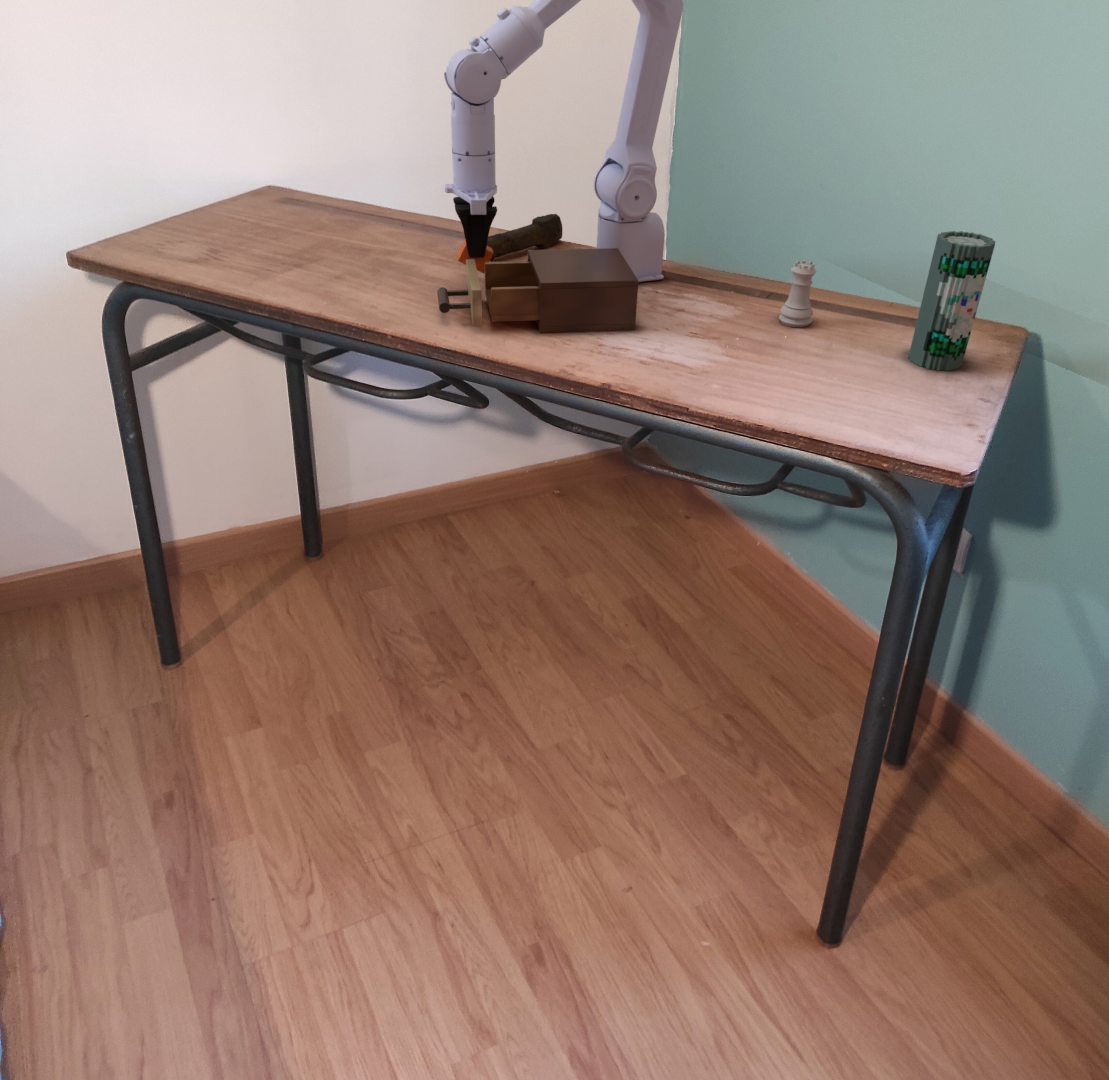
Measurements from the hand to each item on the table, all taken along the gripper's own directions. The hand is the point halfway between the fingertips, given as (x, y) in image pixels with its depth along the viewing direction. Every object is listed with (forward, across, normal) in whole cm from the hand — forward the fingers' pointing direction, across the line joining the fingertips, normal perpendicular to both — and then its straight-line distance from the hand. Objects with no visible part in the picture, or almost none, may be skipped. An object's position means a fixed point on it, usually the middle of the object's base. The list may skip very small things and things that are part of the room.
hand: (475, 253), depth 135 cm
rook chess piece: (+5, +17, +42) cm, 45 cm away
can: (+5, +31, +55) cm, 63 cm away
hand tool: (+5, -17, +8) cm, 19 cm away
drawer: (+4, +11, +2) cm, 12 cm away
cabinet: (+5, +11, +13) cm, 18 cm away
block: (+2, 0, 0) cm, 2 cm away
